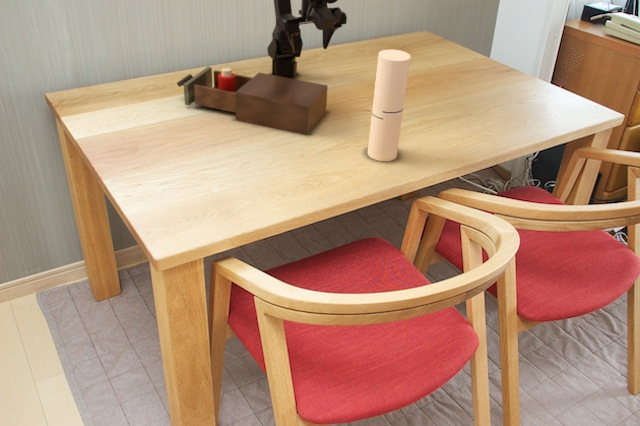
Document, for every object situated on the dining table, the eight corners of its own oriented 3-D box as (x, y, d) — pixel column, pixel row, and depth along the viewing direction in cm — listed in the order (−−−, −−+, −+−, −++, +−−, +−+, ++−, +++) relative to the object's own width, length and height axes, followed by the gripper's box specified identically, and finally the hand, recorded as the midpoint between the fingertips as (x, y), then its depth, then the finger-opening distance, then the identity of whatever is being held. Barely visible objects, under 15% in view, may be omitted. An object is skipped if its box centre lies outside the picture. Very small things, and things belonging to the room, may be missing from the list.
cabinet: (235, 119, 171) (235, 92, 166) (258, 98, 182) (259, 72, 178) (307, 134, 166) (308, 106, 162) (325, 112, 178) (327, 85, 173)
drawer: (170, 101, 175) (169, 81, 172) (195, 83, 186) (194, 64, 183) (248, 118, 170) (248, 97, 167) (269, 98, 181) (269, 78, 177)
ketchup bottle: (216, 99, 176) (215, 70, 171) (223, 93, 179) (222, 65, 175) (230, 102, 175) (230, 73, 170) (238, 96, 178) (237, 68, 174)
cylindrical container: (395, 163, 156) (409, 62, 142) (365, 158, 157) (376, 58, 143) (398, 149, 162) (411, 51, 148) (369, 145, 163) (380, 47, 149)
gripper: (296, 4, 158) (294, 66, 167) (360, -3, 167) (355, 56, 175) (275, -8, 166) (274, 51, 175) (337, -14, 175) (333, 43, 183)
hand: (310, 51), depth 177 cm, fingers open, 9 cm apart
